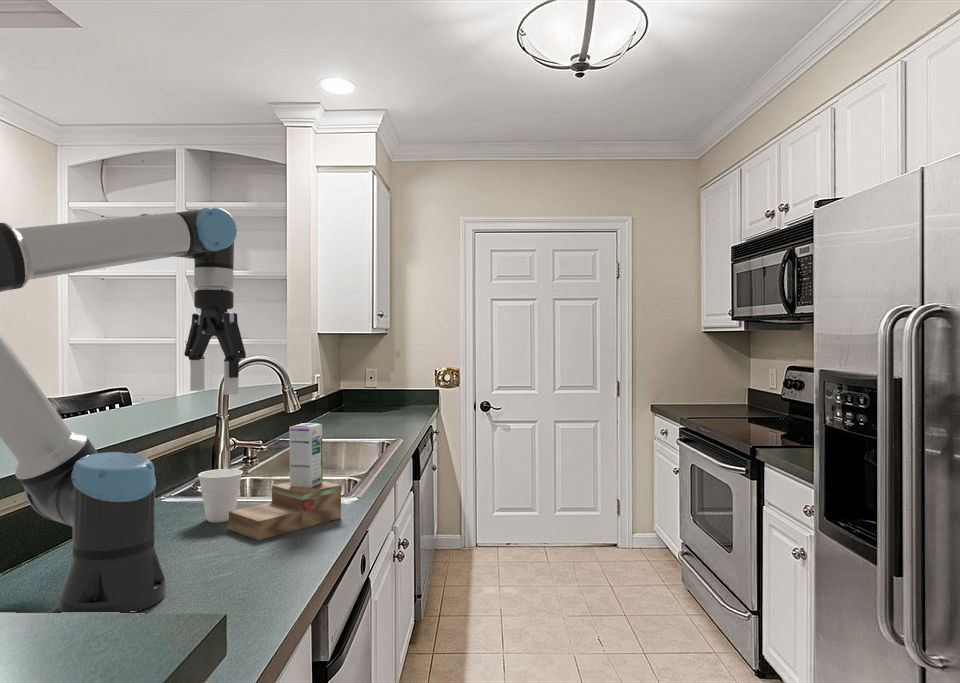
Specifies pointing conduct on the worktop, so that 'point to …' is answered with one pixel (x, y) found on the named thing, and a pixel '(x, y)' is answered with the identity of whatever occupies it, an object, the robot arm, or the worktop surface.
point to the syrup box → (306, 455)
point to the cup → (220, 492)
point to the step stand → (288, 510)
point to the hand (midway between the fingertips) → (213, 392)
